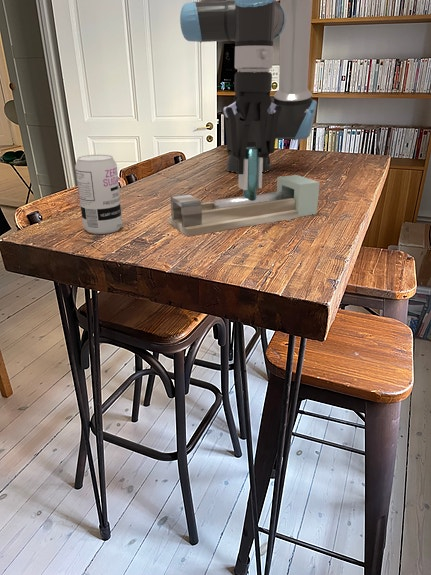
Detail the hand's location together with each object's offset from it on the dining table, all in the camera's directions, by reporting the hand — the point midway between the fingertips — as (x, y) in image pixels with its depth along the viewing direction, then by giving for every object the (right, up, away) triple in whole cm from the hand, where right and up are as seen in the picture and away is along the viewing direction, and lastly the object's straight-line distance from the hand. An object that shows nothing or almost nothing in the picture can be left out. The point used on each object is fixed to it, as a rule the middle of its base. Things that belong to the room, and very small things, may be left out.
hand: (250, 187), depth 100 cm
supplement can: (-32, -10, -3) cm, 33 cm away
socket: (+12, -4, +8) cm, 15 cm away
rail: (-3, -7, +1) cm, 8 cm away
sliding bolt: (+1, -4, +3) cm, 5 cm away
